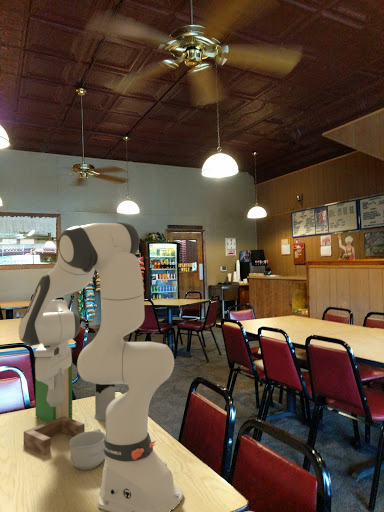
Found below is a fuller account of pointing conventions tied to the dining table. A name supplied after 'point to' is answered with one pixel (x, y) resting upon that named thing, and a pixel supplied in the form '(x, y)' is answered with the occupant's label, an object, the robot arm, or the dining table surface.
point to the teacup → (87, 449)
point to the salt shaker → (56, 392)
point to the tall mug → (103, 399)
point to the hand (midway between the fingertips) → (55, 386)
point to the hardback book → (56, 412)
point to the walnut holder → (51, 433)
